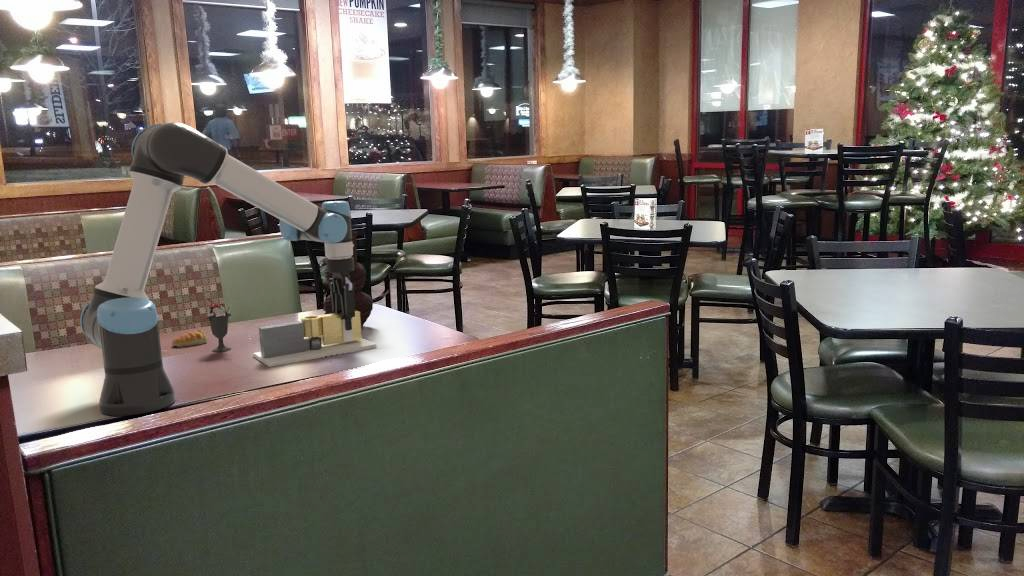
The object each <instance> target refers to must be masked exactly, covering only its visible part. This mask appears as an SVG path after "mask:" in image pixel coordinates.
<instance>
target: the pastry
mask: <svg viewBox="0 0 1024 576" xmlns="http://www.w3.org/2000/svg"><path fill="white" fill-rule="evenodd" d="M207 342H208V337H207V335H206V333H205V331H204V330H202V329H200V330H196V331H188V332H186V333H184V334H182V335H179V336H178V337H176V338H174V339H173V340H172V341H171V344H172V346H173V347H178V348H183V347H192V346H197V345H198V346H199V345H203V344H206V343H207Z"/></svg>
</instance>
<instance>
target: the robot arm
mask: <svg viewBox="0 0 1024 576" xmlns="http://www.w3.org/2000/svg"><path fill="white" fill-rule="evenodd" d="M131 143H132V144H131V150H130V151H131V156H132V162H131V163H130V169H129V172H128V173H129V175H130V177H131V179H132V181H133V184H132V187H131V190H130V194H129V198H128V201H127V204H126V207H125V210H124V214H123V218H122V221H121V224H120V227H119V231H118V234H117V237H116V242H115V244H114V248H113V251H112V255H111V258H110V261H109V264H108V268H107V272H106V275H105V278H104V281H102V282H100V283H99V284H96V285H95V286H94V289H93V293H92V295H91V298H90V301H89V302H88V303H87V304H86V305H85V307H84V308H83V310H81V314H80V322H79V323H80V328H81V332H83V335H84V337H86V339H87V341H88V342H90V343H91V344H92V345H93V346H95V347H97V348H100V349H101V353H102V361H103V367H104V379H103V383H102V388H101V393H100V398H99V403H98V404H99V410H100V413H102V414H104V415H106V416H111V417H115V416H117V417H119V416H121V417H123V416H124V417H126V416H133V415H135V416H137V415H141V414H147V413H151V412H155V411H158V410H162V409H164V408H167V407H169V406H171V405H172V404H173V403H175V402H176V394H175V389H174V387H173V385H172V383H171V381H170V378H169V376H168V375H167V372H166V371H165V369H164V365H163V364H164V363H163V355H162V346H161V338H160V337H161V336H160V335H161V334H160V327H159V314H158V311H157V307H156V305H155V303H154V302H153V301H151V300H150V298H149V297H148V295H147V294H146V292H145V288H146V286H147V281H148V278H149V275H150V272H151V268H152V264H153V261H154V257H155V255H156V250H157V247H158V244H159V240H160V239H161V238H160V237H161V234H162V230H163V227H164V223H165V220H166V217H167V214H168V209H169V207H170V203H171V199H172V197H173V194H174V193H175V192H176V191H179V190H181V189H182V188H183V187H182V186H183V183H184V179H185V177H188V178H190V179H191V178H192V179H194V180H196V181H198V182H200V183H202V184H204V185H209V184H213V185H215V186H217V187H219V188H221V189H223V190H224V191H226V192H228V193H230V194H232V195H234V196H235V197H237V198H239V199H241V200H242V201H245V202H247V203H249V204H251V205H252V206H254V207H256V208H258V209H260V210H262V211H264V212H266V213H267V214H269V215H271V216H273V217H275V218H276V219H278V220H279V231H280V234H281V237H282V238H283V239H284V240H285V241H287V242H290V241H291V242H293V241H294V242H298V241H304V240H305V241H310V242H311V241H312V242H320V243H324V252H325V253H324V255H325V258H326V260H325V264H326V265H325V267H326V269H327V272H329V273H333V276H332V277H333V278H330V279H329V284H330V289H329V290H331V291H330V295H331V299H332V308H333V313H340V312H342V314H343V317H340V318H341V320H342V332H343V342H348V341H353V329H352V318H353V317H355V297H354V289H355V283H354V282H353V283H351V279H350V276H349V272H350V271H353V270H354V258H353V257H351V256H352V255H353V247H354V244H352V232H353V231H352V229H353V228H352V215H351V206H350V204H349V202H347V201H345V200H334V201H332V200H331V201H324V202H322V203H321V207H320V206H318V205H317V204H315V203H313V202H311V201H310V200H308V199H307V198H304V197H302V196H301V195H299V194H298V193H295V192H294V191H292V190H291V189H289V188H287V187H285V186H284V185H281V184H280V183H278V182H277V181H275V180H273V179H272V178H270V177H268V176H267V175H265V174H263V173H261V172H259V171H258V170H256V169H254V168H253V167H251V166H250V165H247V164H245V163H244V162H242V161H241V160H238V159H237V158H235V157H233V156H232V155H230V154H229V153H228V152H229V151H228V149H227V148H226V147H225V146H224V145H221V144H220V143H218V142H216V141H214V140H213V139H212V138H210V137H209V136H207V135H206V134H204V133H203V132H200V131H199V130H197V129H195V128H194V127H192V126H190V125H189V124H188V125H187V124H185V123H182V122H167V123H157V124H152V125H148V126H146V127H145V128H143V129H141V131H140V132H138V133H137V135H136V136H135V137H134V139H133V141H132V142H131Z"/></svg>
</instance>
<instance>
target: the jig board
mask: <svg viewBox="0 0 1024 576" xmlns="http://www.w3.org/2000/svg"><path fill="white" fill-rule="evenodd" d="M361 339H362V340H357V341H350V342H344V343H337V344H331V345H322V349H319V350H308V351H305V352H300V353H294V354H288V355H283V356H277V357H271V358H263V357H261V351H257V352H253V353H252V355H253V358H255V359H256V360H258V361H260V362H261V363H262V364H264V365H266V366H267V367H268V368H269V367H270V368H271V367H276V366H281V365H282V366H283V365H287V364H292V363H293V364H294V363H297V362H305V361H311V360H315V359H321V357H322V358H326V357H325V356H327V357H331V356H330V355H333V356H337V355H336V354H338V355H342V353H344V354H348V352H349V353H354V352H361V351H365V350H371V348H372V349H376V348H377V344H376V343H375V342H372V341H369V340H367V339H364V338H362V337H361Z"/></svg>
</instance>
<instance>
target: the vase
mask: <svg viewBox="0 0 1024 576" xmlns="http://www.w3.org/2000/svg"><path fill="white" fill-rule="evenodd" d="M358 233H359V232H358V231H355V230H354V231H352V244H354V247H353V255H352V256H351V257H353V258H354V270H353V271H350V272H349V276H350V279H351V283H353V282H354V283H355V289H354V297H355V310H356V311H359V312H360V321H361V329H362V328H364V325H365V323H366V322H367V320H368V318H369V317H370V316H371V313H372V311H373V308H374V306H373V304H374V301H373V299H372V297H371V295H370V294H369V293H366V292H364V291H362V290H363V289H364V287H365V285H366V280H367V270H366V269H365V267H364V265H363V264H362V263H360V262H358V250H357V249H358V246H357V244H358V242H357V241H358V239H357V237H358ZM324 274H325V276H324V278H325V281H326V285H327V286H328V289H329V290H330V284H329V279H330V278H333V277H332V276H333V273H329V272H327V268H326V269H325V273H324ZM330 292H331V290H330ZM322 304H323V305H322V307H323V309H322V311H324V313H323V315H325V314H333V308H332V299H331V294H328V296H327V297H326V298H324V301H323V302H322Z"/></svg>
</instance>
